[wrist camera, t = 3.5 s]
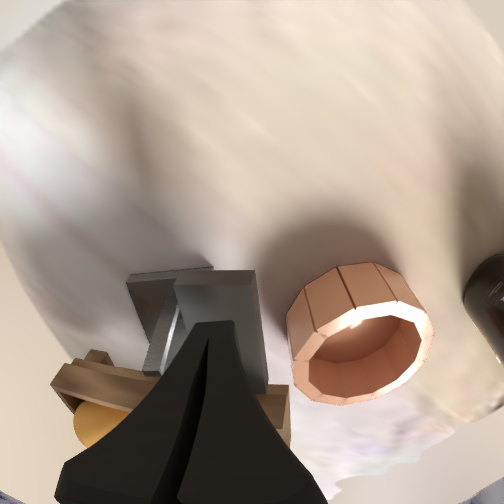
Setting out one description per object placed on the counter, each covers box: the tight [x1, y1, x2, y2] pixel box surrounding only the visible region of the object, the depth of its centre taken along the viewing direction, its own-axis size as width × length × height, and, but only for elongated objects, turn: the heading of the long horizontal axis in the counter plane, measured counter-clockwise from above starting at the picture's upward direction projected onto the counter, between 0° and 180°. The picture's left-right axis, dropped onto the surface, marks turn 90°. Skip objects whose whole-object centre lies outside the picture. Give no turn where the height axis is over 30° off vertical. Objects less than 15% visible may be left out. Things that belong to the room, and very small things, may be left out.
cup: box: [286, 262, 434, 406], centre depth 21 cm, size 10×10×4 cm
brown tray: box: [50, 270, 291, 448], centre depth 16 cm, size 14×14×4 cm
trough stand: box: [126, 267, 214, 377], centre depth 20 cm, size 6×12×8 cm, turn 7°
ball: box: [73, 400, 128, 448], centre depth 16 cm, size 4×4×4 cm
